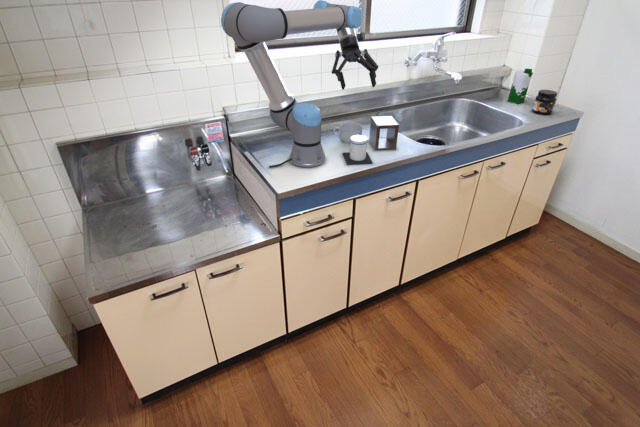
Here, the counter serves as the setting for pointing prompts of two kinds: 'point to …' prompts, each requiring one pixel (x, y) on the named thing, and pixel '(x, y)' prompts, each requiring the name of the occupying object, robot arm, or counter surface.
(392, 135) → the shelf
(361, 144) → the cup
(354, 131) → the teacup
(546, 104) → the supplement container
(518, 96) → the milk carton
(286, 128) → the robot arm
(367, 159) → the mat
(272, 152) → the counter surface
